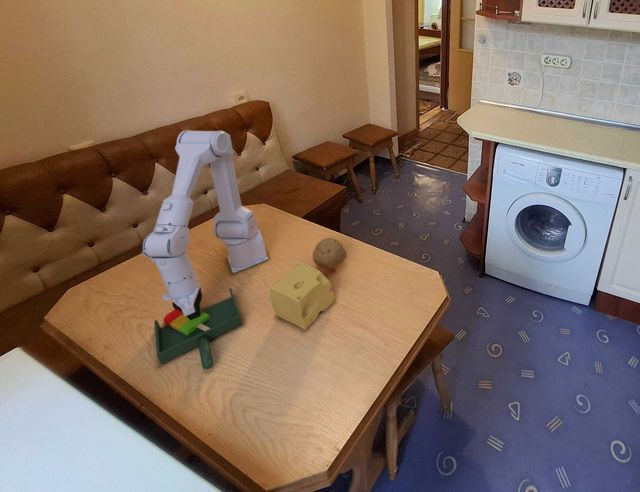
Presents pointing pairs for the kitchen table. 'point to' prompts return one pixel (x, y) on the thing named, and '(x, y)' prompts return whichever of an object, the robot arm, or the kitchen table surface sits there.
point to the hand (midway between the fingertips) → (195, 316)
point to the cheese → (301, 295)
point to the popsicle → (186, 322)
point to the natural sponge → (329, 253)
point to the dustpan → (198, 333)
